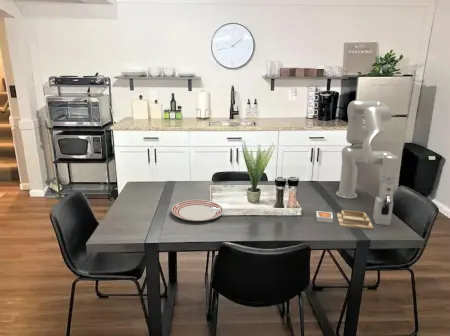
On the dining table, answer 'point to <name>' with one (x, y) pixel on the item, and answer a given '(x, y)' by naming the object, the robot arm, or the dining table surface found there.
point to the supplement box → (377, 214)
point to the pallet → (354, 220)
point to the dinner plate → (196, 210)
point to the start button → (324, 214)
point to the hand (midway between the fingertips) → (382, 211)
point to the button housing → (324, 219)
